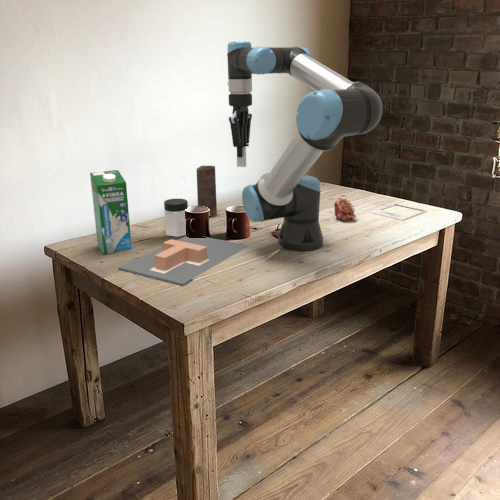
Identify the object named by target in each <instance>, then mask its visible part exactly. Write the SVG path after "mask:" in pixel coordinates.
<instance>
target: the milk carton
mask: <svg viewBox="0 0 500 500" xmlns="http://www.w3.org/2000/svg"><path fill="white" fill-rule="evenodd" d="M89 174H90V175H89V176H90V183H91V184H90V186H91V195H92V203H93V213H94V221H95V222H94V223H95V224H94V225H95V231H96V232H95V233H96V240H97V241H96V242H97V247H98V248H99V250H100V251H101V252H102V253H103V255H110V254H114V253H115V254H116V253H117V252H121V251H126V250H131V249H132V237H131V226H130V214H129V213H130V212H129V203H128V202H129V199H128V189H127V188H128V187H127V181H126V180H125V179H124V177H123V175H122V174H121V172H120V170H118V169H115V170H114V169H113V170H105V171H94V172H89Z"/></svg>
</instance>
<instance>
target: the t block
mask: <svg viewBox="0 0 500 500" xmlns="http://www.w3.org/2000/svg"><path fill="white" fill-rule="evenodd" d="M177 240H178V239H173V238H172V239H170V238H169V240H165V241H164V242H162V247H163V252H161V253H159V254H157V255H154V256H155V268H157V269H161V270H165V271H166V270H168V269H170V268H172V267H174V266H176V265H178V264H180V263H182V262H184V261H185V260H189V261H193V262H198V263H201V262H202V261H204V260H206V259H207V247H206V246H201V245H196V244H192V243H187V242H182V241H177Z"/></svg>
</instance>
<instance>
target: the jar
mask: <svg viewBox="0 0 500 500" xmlns="http://www.w3.org/2000/svg"><path fill="white" fill-rule="evenodd" d="M163 207H164V212H163V213H164V226H165V229H164V230H165V235H166V236H168V237H169V236H171V237H182V236H183V237H184V236H187V235H186V219H185V209H187V208H189V203H188V200H187V199H184V198H169V199H166V200H164V202H163Z"/></svg>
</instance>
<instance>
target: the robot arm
mask: <svg viewBox="0 0 500 500" xmlns="http://www.w3.org/2000/svg"><path fill="white" fill-rule="evenodd" d="M226 57H227V77H228V82H227V86H228V92H229V95H228V105H229V106H230V107H233V108H232V116H229V117H228V121H229V123H230V131H231V132H230V133H231V138H232V139H231V140H232V146H233V148H236V167H237V168H245V167H247V147H249V146H250V144H249V143H250V136H251V122H252V118H253V114H252V113H249V107H250V106H252V105H253V94H252V93H251V92H253V79H252V78H253V76H252V75H266V74H267V75H268V74H288V75H290V76H291V77H293V78H294V79H296V80H297V81H299V82H301V83H302V84H304V85H305V86H306V87H308V88H309V89H311V90H312V91H311V92H308V93H307V94H306V95H304V96H303V97H302V98H301V100H300V102H299V103H298V106H297V108H296V112H297V114H296V115H295V121H296V122H295V123H296V127H297V129H296V130H297V133H296V134H295V136H294V137H293V139H292V140H291V142H290V143H289V144H288V146H287V147H286V149H284V152H283V153H282V154H281V156H280V158H279V159H278V160H277V162H275V165H274V166H273V168H272V169H271V170H270V172H267V173H265V174H262V176H260V178H259V179H258V181H256V183H255V184H249V185H246V186H245V187H244V188H243V190H242V194H241V199H242V200H241V201H242V207H243V210H244V213H245V215H246V216H247V218H248V219H249V220H250V221H252V222H253V223H260V222H262V223H263V222H266V221H272V220H276V219H282V218H283V222H282V224H281V228H280V231H279V233H278V236H277V238H278V239H277V242H278V244H279V245H280V246H281V247H282V248H284V249H285V250H292V251H304V252H305V251H314V250H318V249H320V248H322V247H323V246H324V235H323V231H322V228H321V225H320V221H319V220H320V203H321V200H320V199H321V181H320V180H319V178H317V177H314V176H311V175H309V174H307V173H308V172H309V170H310V169H311V168H312V167H313V165H314V164H315V163H316V161H317V160H318V159H319V158H320V157H321V155H322V154H323V152H327V151H331V150H332V149H334V148H335V147H336V146H337V145H338V143H339V142H340V140H341V139H343V138H344V137H351V136H358V135H359V136H360V135H363V134H367V133H369V132H371V131H373V129H374V128H376V127H377V125H378V124H379V122H380V120H381V118H382V115H383V103H382V100H381V97H380V96H379V94H378V93H377V92H376V91H375V90H374V89H373V88H371V87H370V86H369V85H366V84H364V83H363V82H361V81H355V82H354V81H351V80H350V79H348V78H346V77H345V76H343V75H342V74H340V73H339V72H336V71H335V70H333V69H331V68H330V67H328V66H327V65H324V64H323V63H322V62H320V61H318V60H316V59H314V58H313V57H312V54H311V52H310V50H309V49H308V48H306V47H300V46H291V47H290V46H288V47H283V46H280V47H277V46H276V47H275V46H274V47H271V46H270V47H266V46H256V47H252V42H250V41H246V40H245V41H244V40H243V41H242V40H239V41H237V40H236V41H229V42H228V44H227V54H226ZM306 174H307V175H306Z"/></svg>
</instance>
